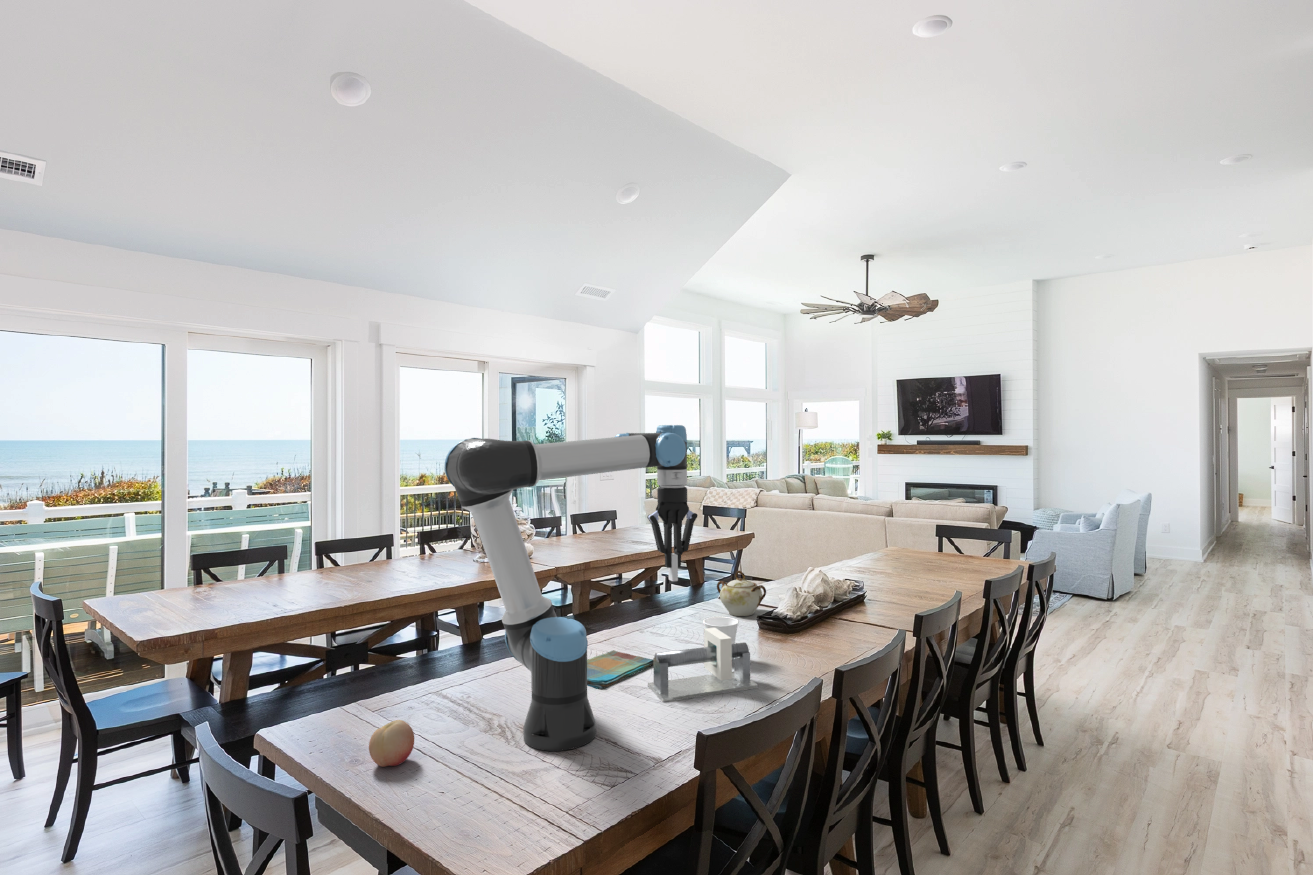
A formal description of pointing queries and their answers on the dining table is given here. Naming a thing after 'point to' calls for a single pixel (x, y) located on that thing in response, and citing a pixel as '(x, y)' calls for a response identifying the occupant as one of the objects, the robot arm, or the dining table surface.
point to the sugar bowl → (741, 596)
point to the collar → (719, 653)
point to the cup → (723, 625)
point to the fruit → (391, 743)
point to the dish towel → (613, 668)
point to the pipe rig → (700, 684)
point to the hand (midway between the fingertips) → (673, 580)
